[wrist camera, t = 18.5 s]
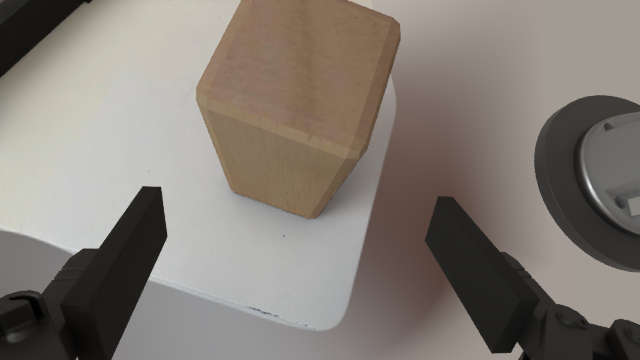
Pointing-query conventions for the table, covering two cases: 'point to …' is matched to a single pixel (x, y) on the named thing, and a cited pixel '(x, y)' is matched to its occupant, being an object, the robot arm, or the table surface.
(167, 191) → the table surface
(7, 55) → the book
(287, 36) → the wooden block
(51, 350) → the robot arm
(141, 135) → the table surface
